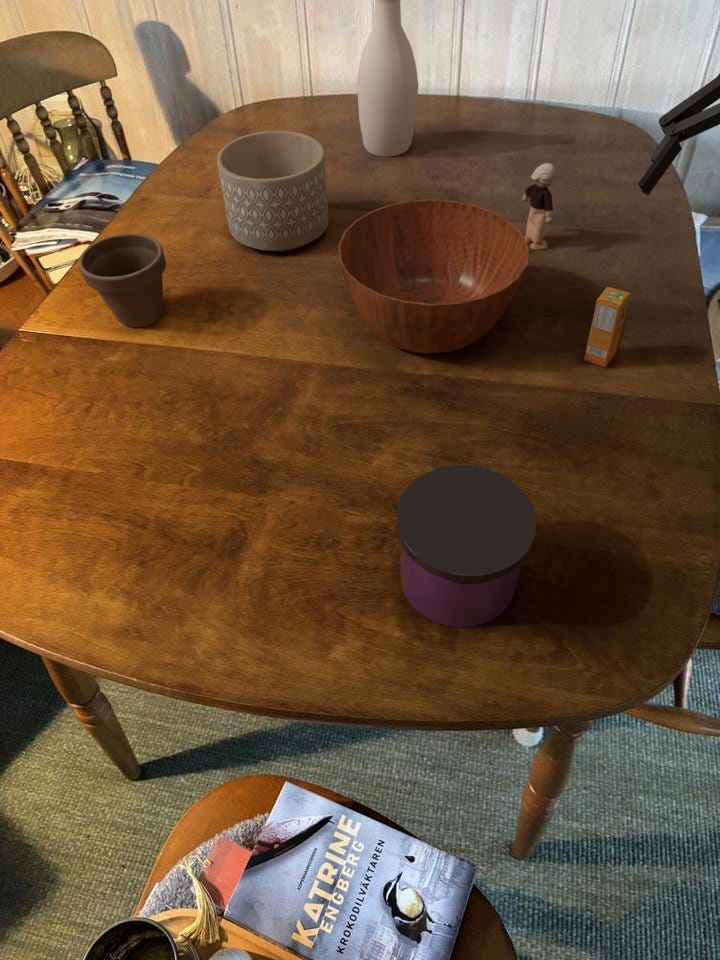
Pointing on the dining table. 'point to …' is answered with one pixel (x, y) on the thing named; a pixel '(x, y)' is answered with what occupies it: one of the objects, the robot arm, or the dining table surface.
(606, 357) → the supplement box
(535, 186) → the grandmother figurine
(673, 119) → the robot arm
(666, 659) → the dining table surface
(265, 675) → the dining table surface
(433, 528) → the jar
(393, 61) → the bottle
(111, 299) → the flower pot
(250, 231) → the planter
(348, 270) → the bowl
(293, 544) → the dining table surface
